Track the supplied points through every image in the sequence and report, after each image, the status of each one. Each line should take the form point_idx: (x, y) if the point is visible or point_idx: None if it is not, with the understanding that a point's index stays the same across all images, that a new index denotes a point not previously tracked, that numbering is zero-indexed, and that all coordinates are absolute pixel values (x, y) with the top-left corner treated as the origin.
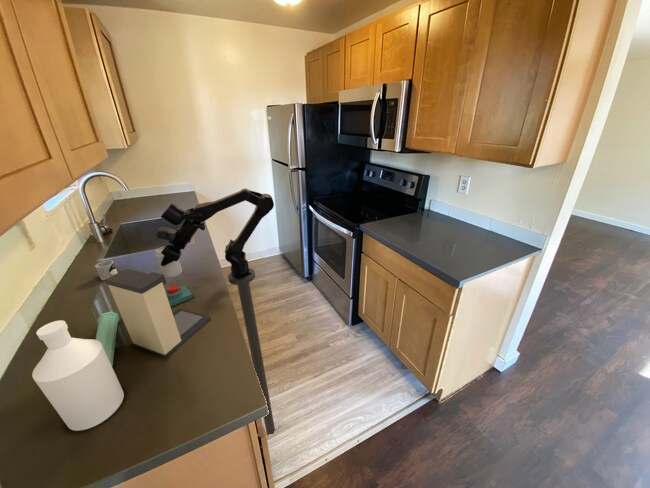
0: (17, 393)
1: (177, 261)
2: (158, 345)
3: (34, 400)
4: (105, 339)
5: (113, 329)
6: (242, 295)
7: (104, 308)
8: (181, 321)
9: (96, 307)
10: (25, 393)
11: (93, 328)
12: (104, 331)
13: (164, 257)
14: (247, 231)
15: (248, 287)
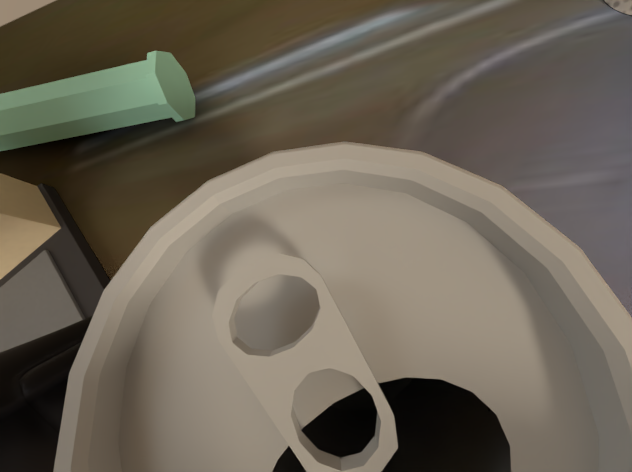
0: (64, 8)
1: (283, 458)
2: None
3: (22, 43)
4: (13, 107)
5: (80, 116)
6: None
7: (321, 56)
8: (23, 336)
9: (344, 30)
10: (54, 20)
11: (211, 63)
12: (54, 92)
13: (18, 359)
14: None
15: None
